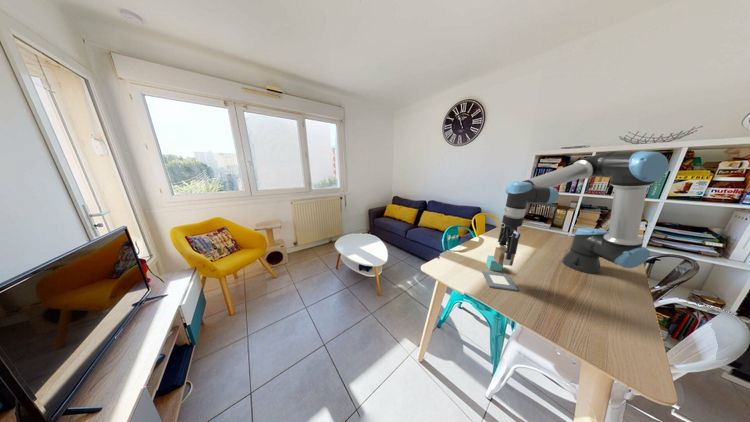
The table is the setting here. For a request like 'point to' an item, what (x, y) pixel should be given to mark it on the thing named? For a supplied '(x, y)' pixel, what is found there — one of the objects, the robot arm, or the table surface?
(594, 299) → the table surface
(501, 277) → the build pad
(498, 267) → the teal block
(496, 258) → the walnut block
